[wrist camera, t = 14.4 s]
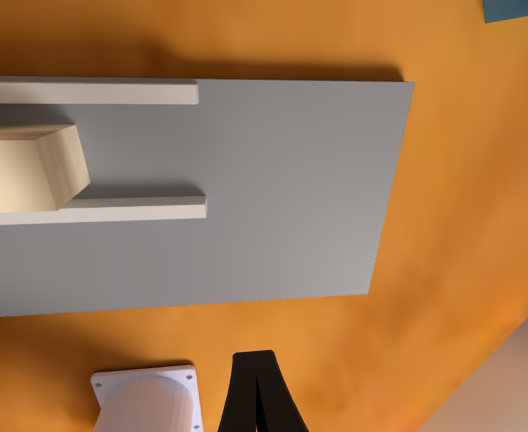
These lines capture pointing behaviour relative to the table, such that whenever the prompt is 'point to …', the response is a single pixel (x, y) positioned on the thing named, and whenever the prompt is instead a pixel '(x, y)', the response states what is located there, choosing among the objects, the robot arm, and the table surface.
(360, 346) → the table surface
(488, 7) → the perfume bottle
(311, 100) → the board
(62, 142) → the slat
